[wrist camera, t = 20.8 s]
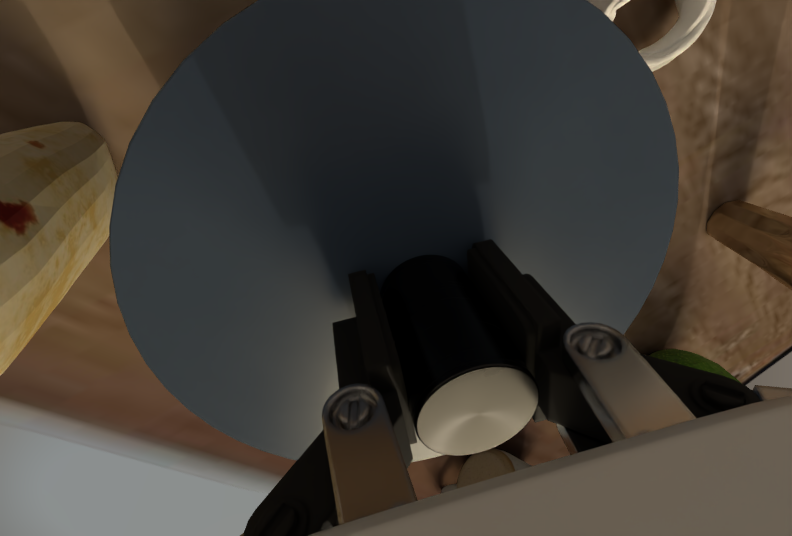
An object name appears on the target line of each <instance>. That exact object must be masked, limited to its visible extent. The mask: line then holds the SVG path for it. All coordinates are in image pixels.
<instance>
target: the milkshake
mask: <svg viewBox="0 0 792 536" xmlns="http://www.w3.org/2000/svg"><path fill="white" fill-rule="evenodd" d="M707 234H708V235H710V236H711V237H713V238H714V239H715V240H717V241H719V242H720V243H722V244H723V245H725V246H726V247H728V248H730V249H731V250H733V251H734V252H736V253H737V254H739V255H741V256H742V257H744V258H745V259H747V260H748V261H750V262H752V263H753V264H755V265H756V266H758V267H759V268H761V269H762V270H764V271H765V272H766V273H768V274H769V275H770V276H772V277H773V278H774V279H776V280H777V281H779V282H780V283H782V284H783V285H785V286H786V287H788V288H789V289H790V290H792V217H790V216H787V215H784V214H781V213H778V212H775V211H772V210H769V209H766V208H762V207H759V206H756V205H753V204H750V203H747V202H744V201H741V200H735V201H730V202H726V203H725V204H723V205H722V206H721V207H719V208H718V209H717V210H715V211H714V213H713V214H712V216H711V217H710V219H709V221H708V222H707Z"/></svg>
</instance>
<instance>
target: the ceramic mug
mask: <svg viewBox="0 0 792 536" xmlns="http://www.w3.org/2000/svg"><path fill="white" fill-rule="evenodd" d="M528 467H532V466H531V465H529V464H527V463H526V462H524V461H522V460H520V459H518V458H516V457H515V456H513V455H511V454H509V453H507V452H505V451H502V450H498V449H489V450H486V451H483V452H479V453H475V454H473V455H472V456H470V457H469V458H468V460H467V461H466V462H465V464H464V465H463V467H462V468H461V471H460V473H459V476H458V480H457V484H451V485H448V486H445V487H444V488H443V489H442V491H441V493H445V492H448V491H451V490H455V489H458V488H461V487H465V486H468V485H471V484H475V483H478V482H481V481H485V480H488V479H491V478H495V477H498V476H501V475H505V474H508V473H512V472H515V471H518V470H522V469H525V468H528Z"/></svg>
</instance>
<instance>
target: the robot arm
mask: <svg viewBox="0 0 792 536" xmlns="http://www.w3.org/2000/svg"><path fill="white" fill-rule="evenodd" d="M467 262H468V275H469V279H470V281H471V282H472V284H473V285H474V287H475V288H476V290H477V291H478V293H479V294H480V296H481V297H482V299H483V300H484V302H485V303H486V305H487V307H488V308H489V310H490V311H491V313H492V314H493V316H494V317H495V319H496V320H497V322H498V323H499V325H500V326H501V328H502V329H503V331H504V333H505V334H506V336H507V337H508V339H509V340H510V342H511V343H512V345H513V346H514V348H515V349H516V351H517V352H518V354H519V355H520V357H521V358H522V360H523V362H524V363H525V365H526V366H527V368H528V369H529V371H530V372H531V374H532V375H533V377H534V378H535V380H536V382H537V384H538V388H539V403H538V406H537V409H536V411H535V413H534V415H533V416H532V418H533V420H534V422H535V423H536V422H539V421H543V420H546V419H547V420H548V421H551V422H553V423H556V425H557V428H558V431H559V433H560V435H561V437H562V439H563V441H564V443H565V445H566V447H567V449H568V451H569V453H570V455H569V456H566V457H562V458H559V459H556V460H552V461H549V462H545V463H542V464H539V465H535V466H532V467H528V468H525V469H522V470H518V471H515V472H512V473H508V474H505V475H501V476H498V477H495V478H491V479H488V480H485V481H481V482H478V483H475V484H471V485H468V486H465V487H461V488H458V489H455V490H451V491H448V492H445V493H441V494H438V495H435V496H431V497H428V498H425V499H421V500H417V497H416V494H415V491H414V488H413V485H412V482H411V479H410V476H409V473H408V470H407V468H408V466H409V465H410V463H411V462H412V460H413V455H412V451H411V447H410V445H411V444H415V443H417V438H416V434H415V429H414V424H413V421H412V417H411V414H410V410H409V404H408V402H409V401H408V396H407V392H406V387H405V382H404V378H403V373H402V369H401V364H400V361H399V357H398V353H397V350H396V346H395V343H394V339H393V336H392V333H391V329H390V326H389V322H388V319H387V316H386V312H385V309H384V306H383V302H382V299H381V295H380V292H379V289H378V285H377V282H376V278H375V275H374V273H370V274H367V273H366V270H362V271H358V272H354V273H350V274H348V277H349V283H350V288H351V293H352V298H353V304H354V309H355V314H356V317H353V318H349V319H345V320H341V321H338V322H334V323H333V324H332V327H333V336H334V346H335V355H336V364H337V373H338V383H339V389H338V390H337V391H336V392H334V393H333V394H332V395H331V396H330V397H329V398H328V400H327V401H326V402H325V404H324V407H323V409H322V424H323V430H322V432H321V433H320V434H319V435H318V436H317V438H316V439H315V440H314V441H313V442H312V444H311V445H310V446H309V447H308V448H307V449H306V451H305V452H304V453H303V454H302V455H301V457H300V458H299V459H298V460H297V461H296V462H295V464H294V465H293V466H292V467H291V468H290V470H289V471H288V472H287V473H286V474H285V475H284V477H283V478H282V479H281V480H280V481H279V483H278V484H277V485H276V486H275V487H274V488H273V490H272V491H271V492H270V493H269V494H268V496H267V497H266V498H265V499H264V500H263V502H262V503H261V504H260V505H259V506H258V507H257V509H256V510H255V511H254V513H253V514H252V516H251V517H250V519H249V521H248V523H247V526H246V528H245V531H244V533H243V534H242V535H240V536H792V388H780V387H770V386H758V385H755V387H754V388H753V390H750V389H749V388H748V387H747V386H745V385H743V384H741V383H740V382H738V381H736V380H734V379H731V378H728V377H725V376H723V375H719V374H715V373H711V372H708V371H704V370H700V369H696V368H692V367H689V366H685V365H681V364H677V363H674V362H670V361H666V360H662V359H658V358H655V357H651V356H647V355H643V354H640V353H639V352H638V351H637V350H636V348H635V347H634V346H633V345H632V344H631V343H630V342H629V340H628V339H627V338H626V337H625V336H624V335H623V334H622V333H620V332H619V331H618V330H616V329H614V328H612V327H610V326H608V325H604V324H601V323H594V322H586V323H579V324H575V323H574V322H573V320H572V319H571V318H570V317H569V316H568V315H567V314H566V313H565V312H564V311H563V309H562V308H561V307H560V306H559V305H558V304H557V303H556V302H555V301H554V299H553V298H552V297H551V296H550V295H549V294H548V293H547V292H546V291H545V290H544V288H543V287H542V286H541V285H540V284H539V283H538V282H537V281H536V280H535V278H534V277H533V276H531V275H530V274H522V273H521V272H520V271H519V270H518V269H517V267H516V266H515V265H514V264H513V263H512V262H511V261H510V259H509V258H508V257H507V256H506V255H505V254H504V253H503V251H502V250H501V249H500V248H499V247H498V246H497V245H496V243H495V242H494V241H493V240H492V239H489V240H485V241H481V242H477V243H473V244H472V249H468V250H467Z"/></svg>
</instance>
